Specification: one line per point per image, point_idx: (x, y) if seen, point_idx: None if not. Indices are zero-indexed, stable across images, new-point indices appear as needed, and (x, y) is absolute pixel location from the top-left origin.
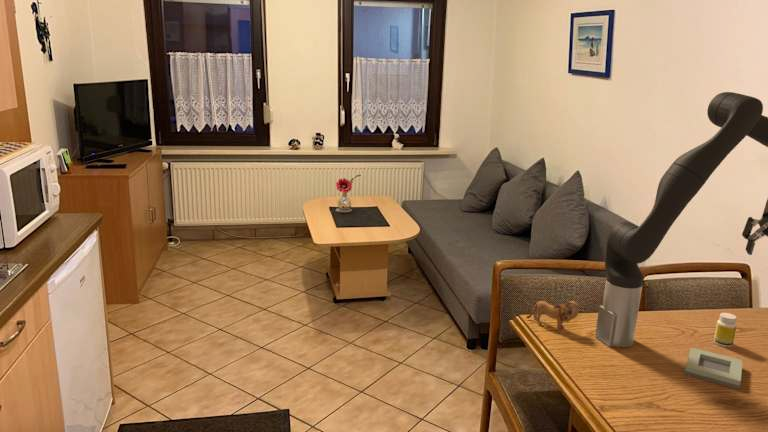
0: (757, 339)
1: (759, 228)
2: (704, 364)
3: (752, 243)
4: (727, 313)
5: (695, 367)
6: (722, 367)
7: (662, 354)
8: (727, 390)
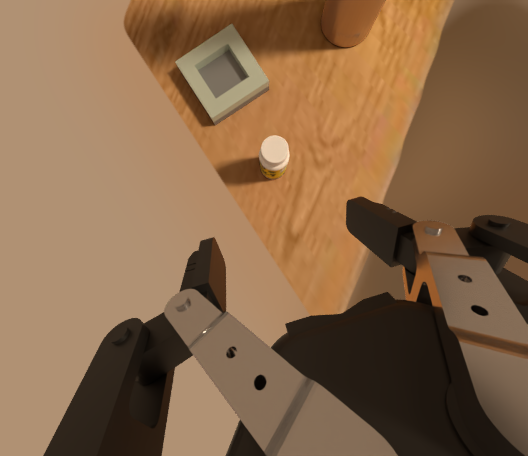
0: (260, 229)
1: (499, 292)
2: (234, 71)
3: (382, 219)
4: (282, 157)
5: (224, 34)
6: (218, 88)
7: (285, 54)
8: None
